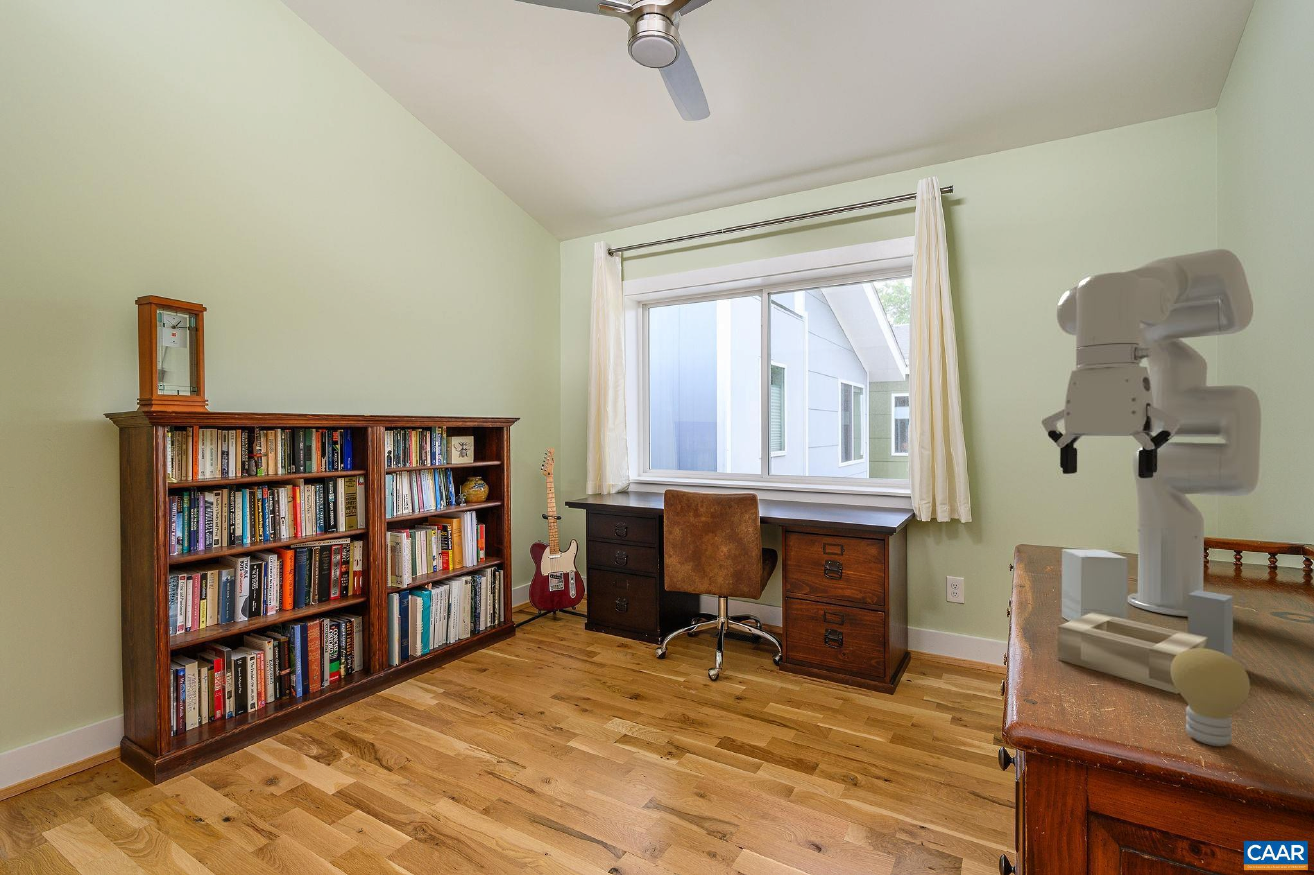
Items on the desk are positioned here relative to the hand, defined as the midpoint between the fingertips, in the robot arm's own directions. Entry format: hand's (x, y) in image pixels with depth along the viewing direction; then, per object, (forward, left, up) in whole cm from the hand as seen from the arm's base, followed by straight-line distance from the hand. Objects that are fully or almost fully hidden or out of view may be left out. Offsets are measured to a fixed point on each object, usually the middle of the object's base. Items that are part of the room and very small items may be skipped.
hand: (1106, 475), depth 89 cm
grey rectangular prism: (-11, +9, -28) cm, 31 cm away
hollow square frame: (0, +3, -27) cm, 28 cm away
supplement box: (-17, -8, -28) cm, 34 cm away
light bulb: (+18, +16, -28) cm, 36 cm away
